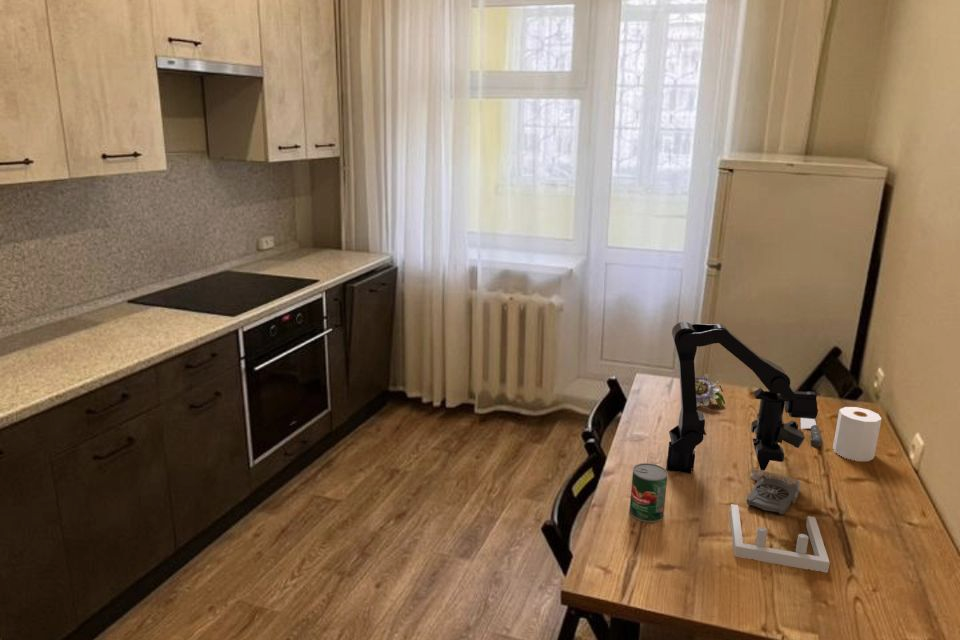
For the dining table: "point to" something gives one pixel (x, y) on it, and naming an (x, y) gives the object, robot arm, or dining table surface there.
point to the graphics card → (773, 492)
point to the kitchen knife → (812, 431)
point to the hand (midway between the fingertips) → (762, 469)
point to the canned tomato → (648, 492)
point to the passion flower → (707, 391)
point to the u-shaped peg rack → (781, 556)
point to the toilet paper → (856, 433)
